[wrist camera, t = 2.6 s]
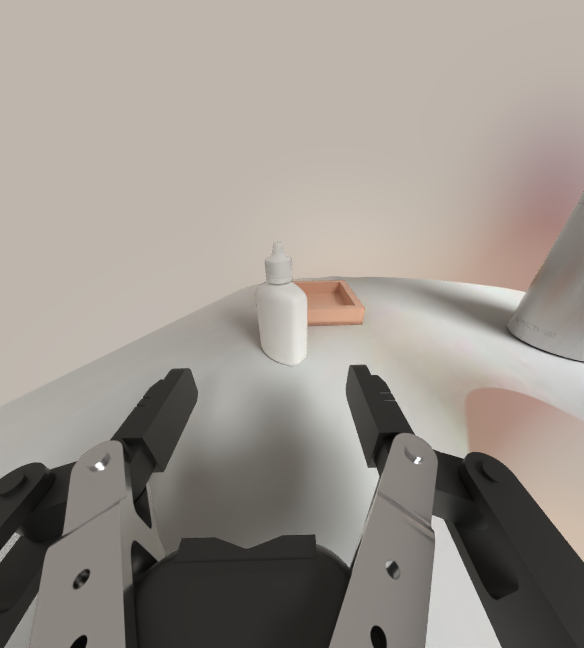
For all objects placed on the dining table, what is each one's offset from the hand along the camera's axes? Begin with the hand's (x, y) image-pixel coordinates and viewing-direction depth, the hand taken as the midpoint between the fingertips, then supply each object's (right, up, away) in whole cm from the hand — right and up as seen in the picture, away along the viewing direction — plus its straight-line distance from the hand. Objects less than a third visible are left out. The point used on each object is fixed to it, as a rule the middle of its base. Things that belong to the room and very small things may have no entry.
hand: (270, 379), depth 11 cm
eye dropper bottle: (0, -1, +13) cm, 13 cm away
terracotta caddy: (+5, +6, +24) cm, 25 cm away
